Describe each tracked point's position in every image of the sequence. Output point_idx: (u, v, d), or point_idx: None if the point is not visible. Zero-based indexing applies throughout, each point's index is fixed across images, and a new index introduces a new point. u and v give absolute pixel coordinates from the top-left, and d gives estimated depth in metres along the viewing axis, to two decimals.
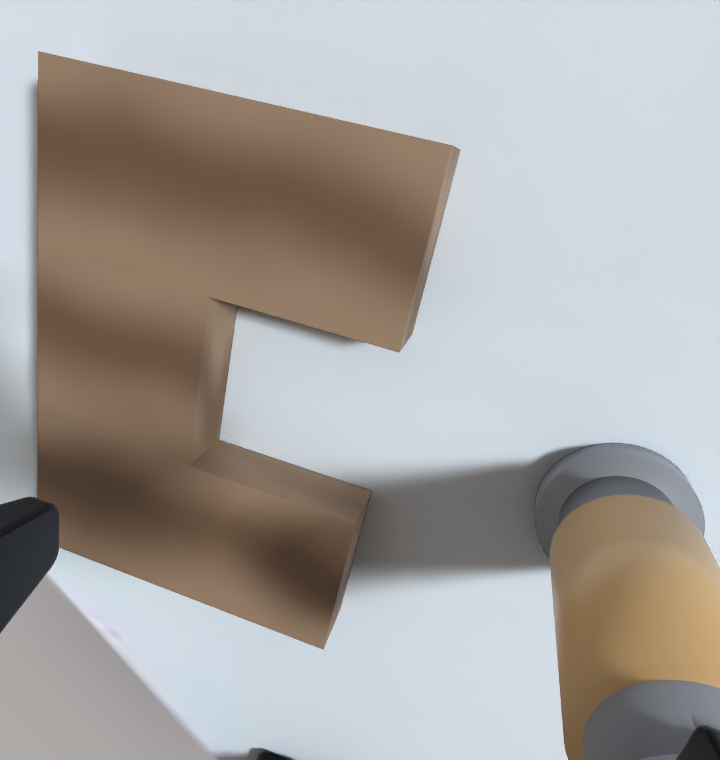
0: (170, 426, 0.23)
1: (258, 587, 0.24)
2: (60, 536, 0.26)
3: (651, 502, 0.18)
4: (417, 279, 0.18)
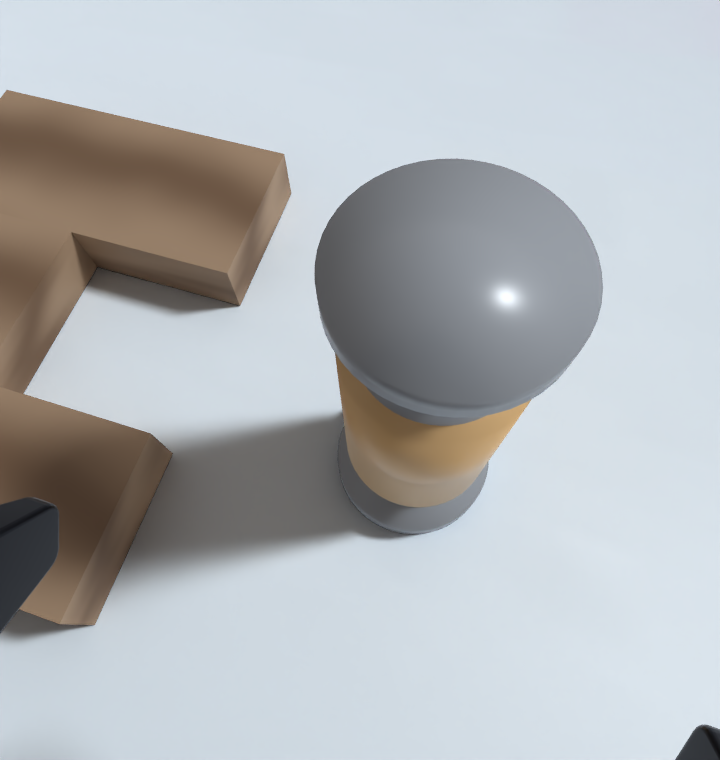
0: None
1: None
2: None
3: None
4: (249, 225, 0.24)
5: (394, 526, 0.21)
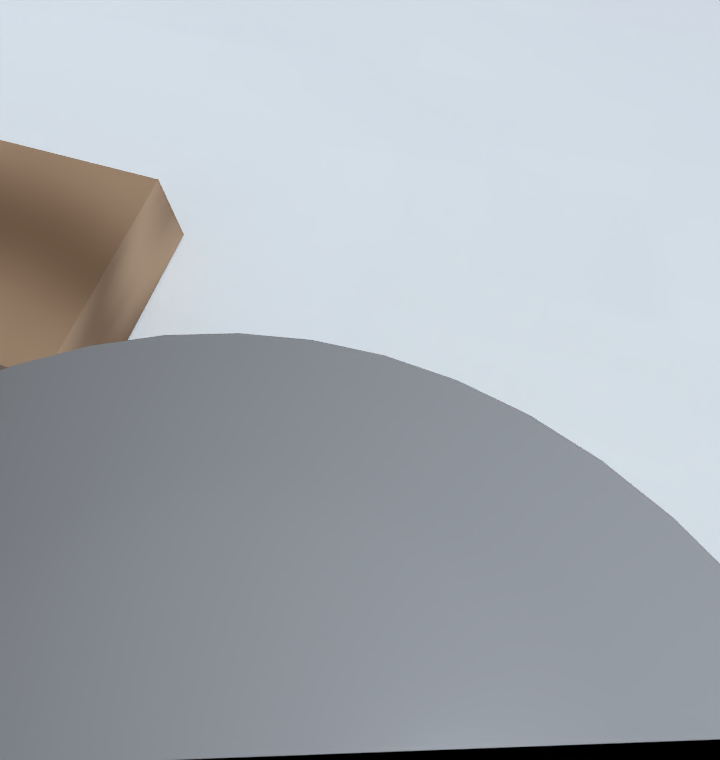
0: None
1: None
2: None
3: None
4: (91, 294, 0.15)
5: None
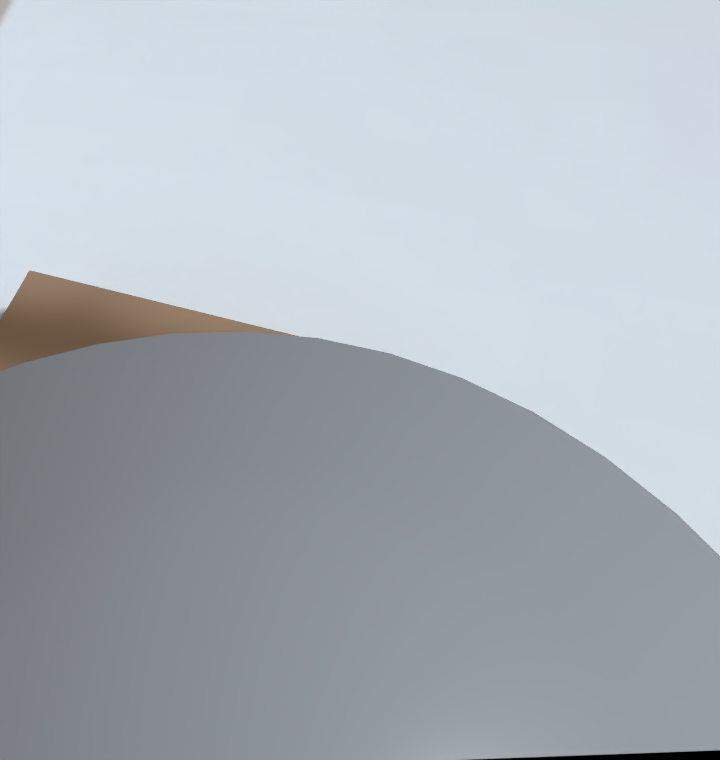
0: None
1: None
2: None
3: None
4: None
5: None
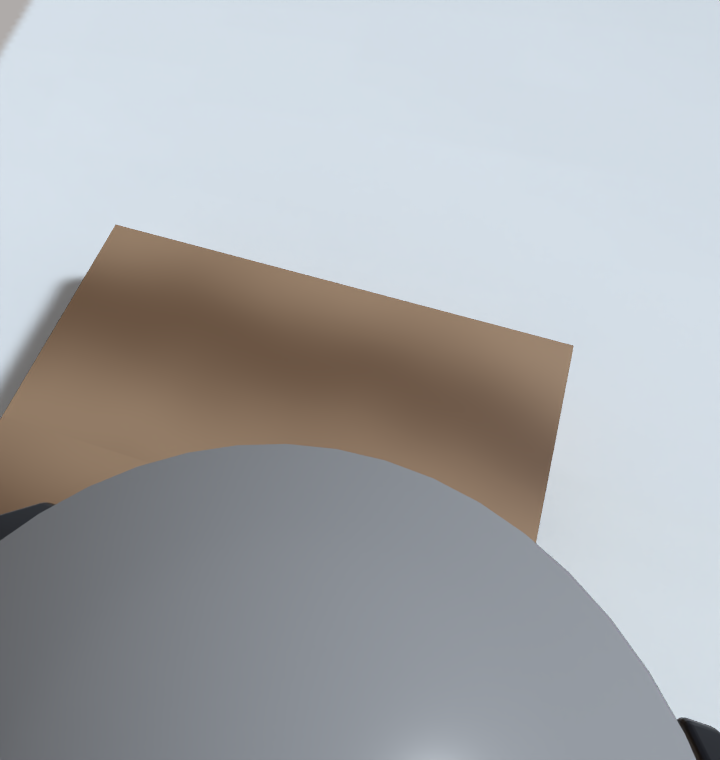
0: None
1: None
2: None
3: None
4: (546, 483, 0.14)
5: None
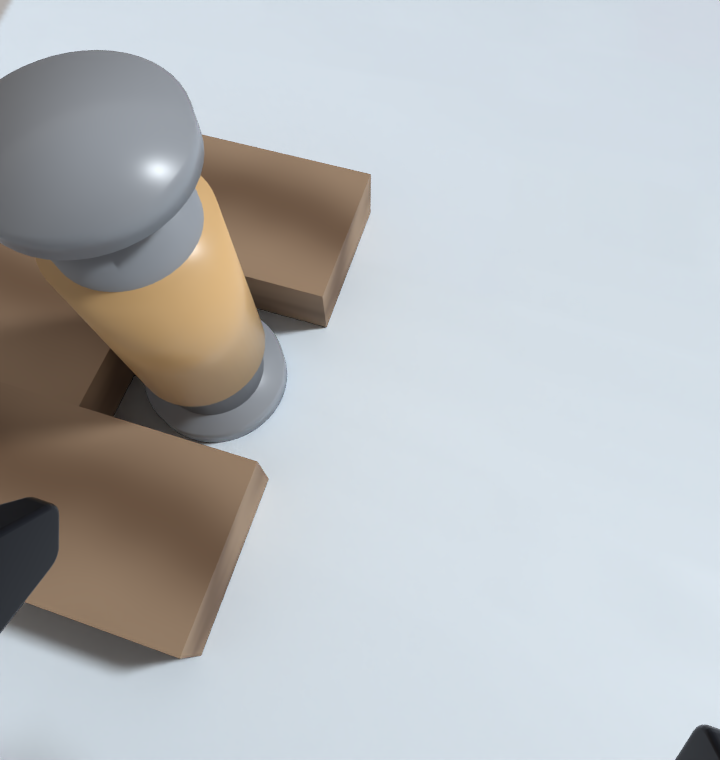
0: (75, 364, 0.22)
1: (113, 563, 0.19)
2: None
3: None
4: (341, 247, 0.24)
5: (189, 432, 0.22)
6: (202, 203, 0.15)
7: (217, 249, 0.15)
